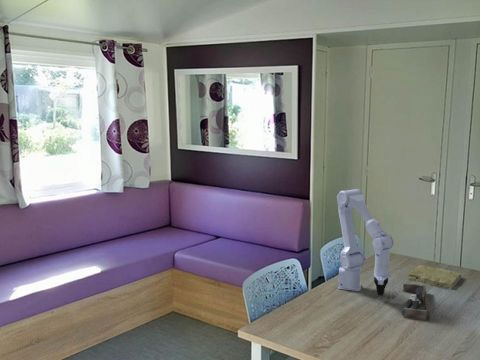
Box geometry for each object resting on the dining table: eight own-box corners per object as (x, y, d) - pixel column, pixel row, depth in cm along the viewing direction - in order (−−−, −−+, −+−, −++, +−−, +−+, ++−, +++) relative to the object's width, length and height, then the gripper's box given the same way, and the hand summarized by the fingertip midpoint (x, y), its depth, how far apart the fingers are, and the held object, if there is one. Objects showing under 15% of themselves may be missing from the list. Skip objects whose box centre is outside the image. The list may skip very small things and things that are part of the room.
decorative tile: (418, 270, 243) (419, 263, 243) (461, 279, 231) (462, 271, 231) (405, 281, 229) (406, 273, 228) (450, 291, 217) (451, 283, 216)
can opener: (411, 298, 208) (412, 284, 207) (424, 301, 205) (425, 286, 204) (400, 315, 192) (400, 299, 191) (413, 318, 190) (414, 302, 188)
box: (404, 317, 190) (404, 308, 189) (403, 290, 216) (403, 282, 215) (428, 320, 187) (429, 311, 186) (424, 292, 213) (425, 285, 213)
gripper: (391, 270, 195) (390, 302, 197) (392, 259, 209) (390, 289, 211) (373, 268, 197) (372, 300, 199) (374, 257, 211) (373, 287, 213)
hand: (380, 294), depth 205 cm, fingers closed
